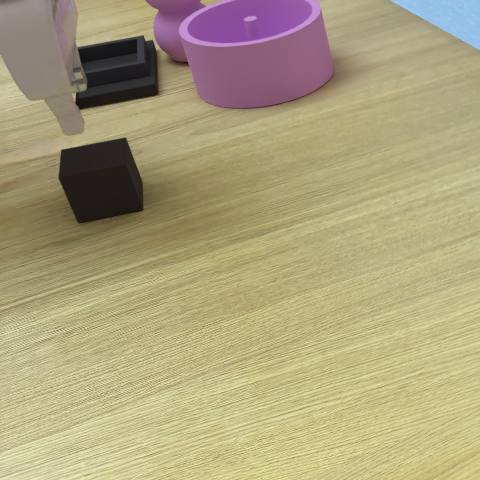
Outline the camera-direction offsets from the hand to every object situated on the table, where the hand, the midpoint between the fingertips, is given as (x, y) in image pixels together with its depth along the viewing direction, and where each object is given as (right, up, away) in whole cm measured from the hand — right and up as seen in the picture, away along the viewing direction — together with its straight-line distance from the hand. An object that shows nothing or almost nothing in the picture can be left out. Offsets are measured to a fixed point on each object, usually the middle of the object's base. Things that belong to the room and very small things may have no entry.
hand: (77, 109), depth 93 cm
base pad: (-8, +15, +27) cm, 32 cm away
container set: (+7, +15, +27) cm, 32 cm away
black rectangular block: (0, -6, +6) cm, 9 cm away
